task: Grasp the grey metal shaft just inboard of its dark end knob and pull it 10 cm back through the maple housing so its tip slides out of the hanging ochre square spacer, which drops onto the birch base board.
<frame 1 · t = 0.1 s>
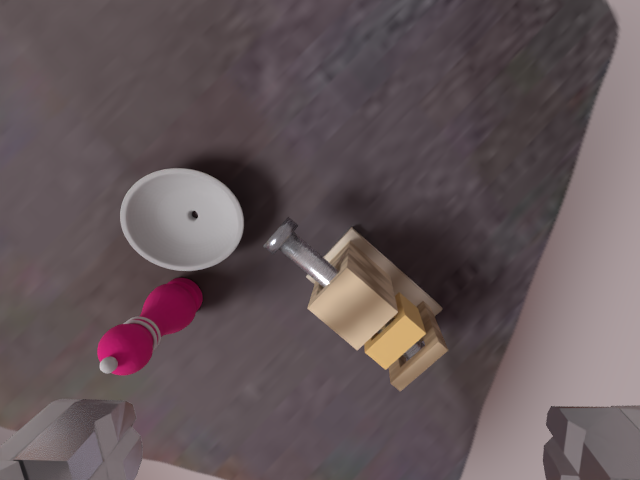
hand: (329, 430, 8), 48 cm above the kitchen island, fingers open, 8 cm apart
dish: (196, 213, 58), on the kitchen island
spacer: (392, 329, 50), point 8 cm above the kitchen island, touching shaft
bracket: (388, 303, 58), on the kitchen island
pepper mill: (184, 295, 61), on the kitchen island
shaft: (350, 295, 49), point 9 cm above the kitchen island, slide at 0.0 cm, touching spacer
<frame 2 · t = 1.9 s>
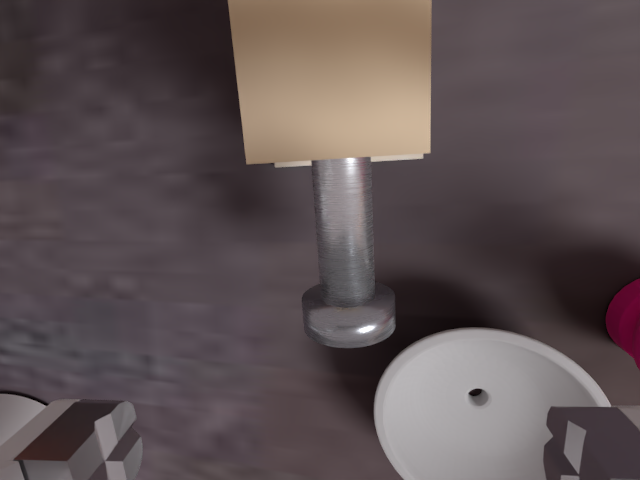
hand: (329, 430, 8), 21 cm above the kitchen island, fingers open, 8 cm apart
dish: (473, 387, 31), on the kitchen island
shaft: (336, 71, 17), point 9 cm above the kitchen island, slide at 0.0 cm, touching spacer
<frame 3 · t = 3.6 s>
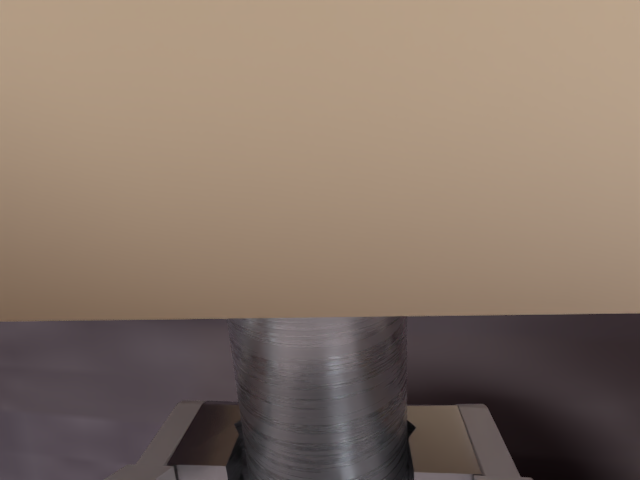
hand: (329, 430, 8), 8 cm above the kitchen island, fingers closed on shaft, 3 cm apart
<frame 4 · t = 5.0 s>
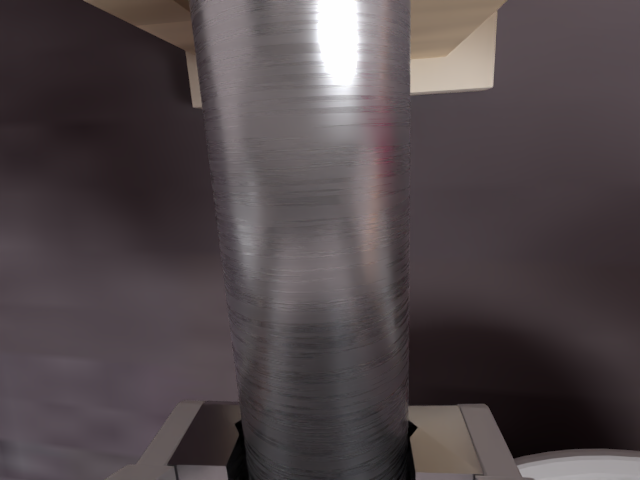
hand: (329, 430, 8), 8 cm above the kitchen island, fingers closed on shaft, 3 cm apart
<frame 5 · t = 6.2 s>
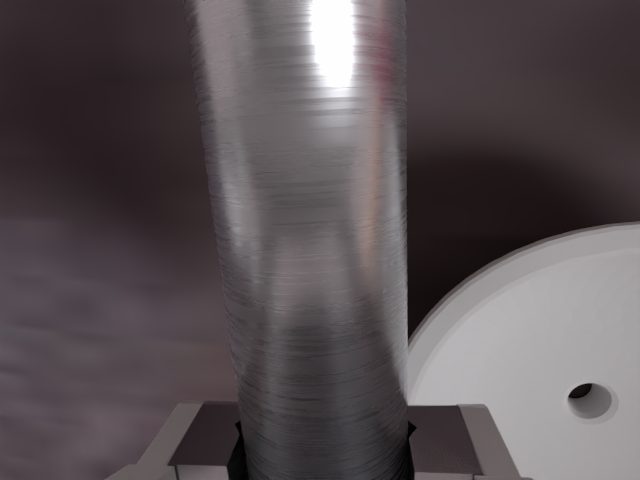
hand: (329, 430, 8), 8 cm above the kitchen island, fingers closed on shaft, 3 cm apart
dish: (572, 382, 16), on the kitchen island
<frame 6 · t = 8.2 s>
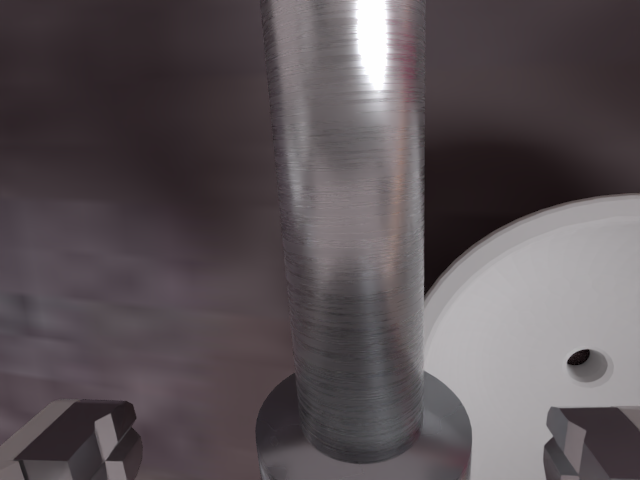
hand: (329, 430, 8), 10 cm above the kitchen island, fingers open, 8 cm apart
dish: (572, 350, 17), on the kitchen island
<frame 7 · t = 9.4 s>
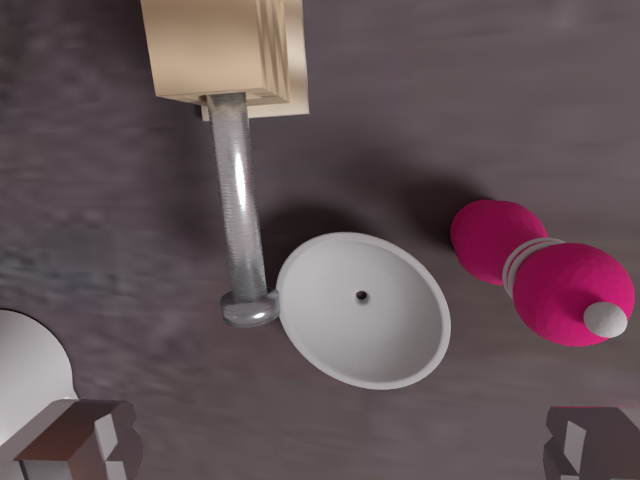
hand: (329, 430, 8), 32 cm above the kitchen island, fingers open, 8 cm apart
dish: (361, 293, 41), on the kitchen island
pepper mill: (481, 230, 38), on the kitchen island
shaft: (234, 163, 29), point 9 cm above the kitchen island, slide at 8.3 cm
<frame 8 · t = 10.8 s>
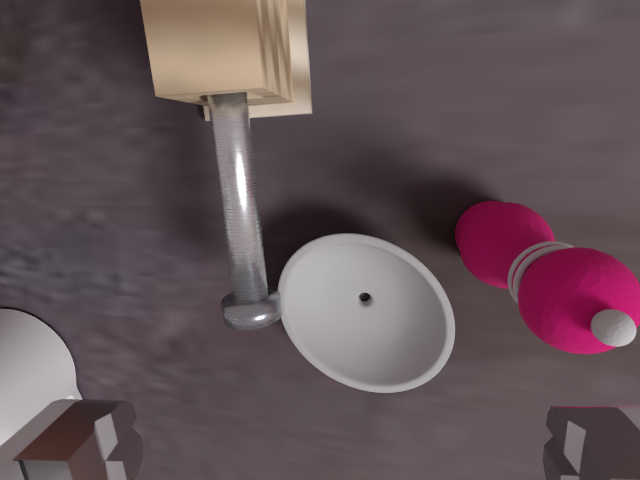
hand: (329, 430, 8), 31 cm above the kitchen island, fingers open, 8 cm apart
dish: (364, 295, 40), on the kitchen island
pepper mill: (486, 231, 37), on the kitchen island
shaft: (235, 164, 29), point 9 cm above the kitchen island, slide at 8.3 cm
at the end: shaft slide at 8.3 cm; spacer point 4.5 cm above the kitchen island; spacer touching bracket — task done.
